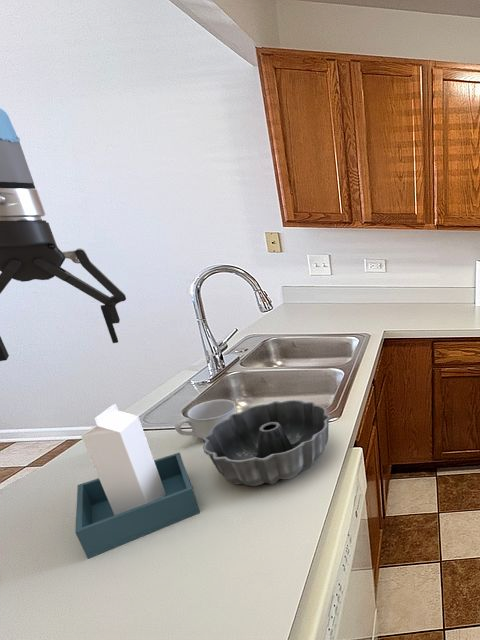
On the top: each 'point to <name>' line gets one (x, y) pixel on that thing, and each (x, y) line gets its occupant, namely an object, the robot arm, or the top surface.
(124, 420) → the milk
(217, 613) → the top surface
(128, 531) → the tote
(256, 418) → the bundt pan
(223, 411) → the teacup
